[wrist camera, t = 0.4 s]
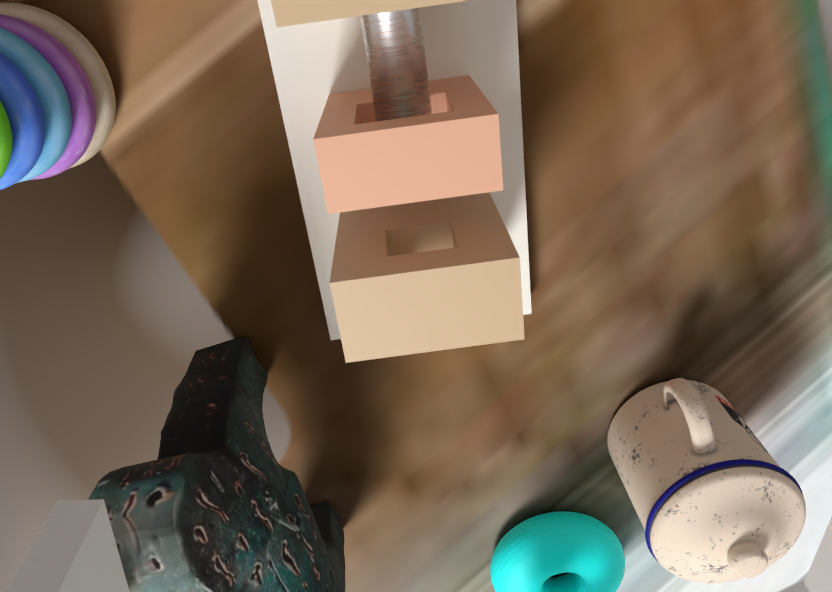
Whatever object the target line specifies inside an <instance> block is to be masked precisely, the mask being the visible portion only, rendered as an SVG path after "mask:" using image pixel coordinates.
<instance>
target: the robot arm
mask: <svg viewBox="0 0 832 592" xmlns="http://www.w3.org/2000/svg"><path fill="white" fill-rule="evenodd" d="M804 584H805V586H806V587H807V588H808V590H809V592H832V518H831V520H830V523H829V525H828V527H827V530H826V532H825V534H824V537H823V539H822V541H821V544H820V546H819V548H818V551H817V553H816V556H815V558H814V560H813V563H812V565H811V567H810V570H809V572H808V574H807V577H806V579H805V581H804ZM5 592H130V591H129V588H128V584H127V581H126V577H125V574H124V570H123V566H122V563H121V559H120V556H119V552H118V549H117V545H116V541H115V538H114V534H113V531H112V527H111V523H110V520H109V516H108V513H107V509H106V506H105V502H104V499H98V500H64V501H63V500H61V501H57V502H56V504H55V506H54V508H53V509H52V511H51V513H50V515H49V516H48V518H47V520H46V521H45V523H44V525H43V527H42V528H41V530H40V532H39V534H38V535H37V537H36V539H35V541H34V542H33V544H32V546H31V548H30V549H29V551H28V553H27V555H26V556H25V558H24V560H23V562H22V563H21V565H20V567H19V569H18V571H17V572H16V574H15V576H14V577H13V579H12V581H11V582H10V584H9V586H8V588H7V589H6V591H5Z"/></svg>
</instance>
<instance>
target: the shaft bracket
mask: <svg viewBox="0 0 832 592" xmlns="http://www.w3.org/2000/svg"><path fill="white" fill-rule="evenodd" d="M258 5H259V9H260V14H261V19H262V23H263V28H264V32H265V37H266V42H267V46H268V51H269V56H270V60H271V65H272V70H273V74H274V79H275V84H276V88H277V93H278V97H279V102H280V107H281V111H282V116H283V121H284V125H285V130H286V135H287V139H288V144H289V149H290V153H291V158H292V163H293V167H294V172H295V176H296V181H297V186H298V190H299V195H300V200H301V204H302V209H303V214H304V218H305V223H306V228H307V232H308V237H309V242H310V246H311V251H312V255H313V260H314V265H315V269H316V274H317V279H318V283H319V288H320V293H321V297H322V302H323V307H324V311H325V316H326V320H327V325H328V330H329V334H330V339H331V340H337V339H341V342H342V346H343V351H344V356H345V361H346V363H348V362H356V361H364V360H371V359H379V358H386V357H394V356H401V355H409V354H416V353H424V352H431V351H439V350H446V349H454V348H462V347H469V346H477V345H484V344H492V343H499V342H507V341H514V340H522V339H524V322H523V315H525V314H531V294H530V273H529V253H528V233H527V213H526V193H525V172H524V152H523V132H522V112H521V92H520V72H519V51H518V31H517V11H516V0H258ZM413 8H420V11H421V20H422V29H423V38H424V47H425V56H426V65H427V74H428V83H429V91H430V100H431V109H432V114H428V115H421V116H414V117H407V118H399V119H392V120H385V121H377V122H376V118H375V112H374V105H373V98H372V92H371V85H370V79H369V72H368V65H367V59H366V52H365V46H364V39H363V32H362V26H361V19H360V16H363V15H370V14H377V13H384V12H391V11H398V10H406V9H413Z"/></svg>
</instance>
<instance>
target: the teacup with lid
mask: <svg viewBox="0 0 832 592" xmlns="http://www.w3.org/2000/svg"><path fill="white" fill-rule="evenodd" d="M607 445H608V450H609V453H610V456H611V458H612V460H613V463H614V465H615V467H616V469H617V471H618V473H619V476H620V478H621V480H622V482H623V484H624V486H625V489H626V491H627V493H628V495H629V497H630V499H631V501H632V504H633V506H634V508H635V510H636V512H637V514H638V517H639V519H640V521H641V523H642V525H643V527H644V530H645V537H646V542H647V546H648V548H649V550H650V552H651V554H652V555H653V557H654V558H655V559H656V560H657V561H658V562H659V563H660V564H661V565H662V566H663V567H664V568H665V569H667V570H668V571H669V572H671V573H673V574H675V575H676V576H678V577H681V578H683V579H686V580H690V581H694V582H701V583H721V582H728V581H733V580H738V579H741V578H750V577H754V576H757V575H759V574H761V573H762V572H763V571H764V570H765V569H766V568H767V567H769V566H770V565H772V564H773V563H775V562H776V561H777V560H779V559H780V558H781V557H782V556H783V555H784V554H786V553H787V552H788V550H789V549H790V548H791V547H792V546H793V545H794V543H795V542H796V540H797V539H798V537H799V535H800V533H801V531H802V529H803V526H804V522H805V516H806V507H805V501H804V497H803V493H802V490H801V488H800V486H799V484H798V483H797V481H796V480H795V479H794V478H793V477H792V476H791V475H790V474H789V473H788V472H787V471H785V470H784V469H782V468H780V467H779V466H778V464H777V463H776V462H775V460H774V459H773V458H772V457H771V455H770V454H769V453H768V452H767V450H766V449H765V448H764V446H763V445H762V444H761V443H760V441H759V440H758V439H757V437H756V436H755V435H754V434H753V432H752V431H751V430H750V429H749V427H748V426H747V425H746V423H745V422H744V421H743V420H742V418H741V417H740V416H739V414H738V413H737V412H736V411H735V409H734V408H733V407H732V406H731V404H730V403H729V402H728V400H727V399H726V398H725V397H724V396H723V395H722V394H721V393H720V392H719V391H718V390H716V389H715V388H713V387H711V386H709V385H707V384H704V383H701V382H698V381H692V380H686V379H683V378H676V379H672V380H669V381H666V382H662V383H658V384H655V385H652V386H650V387H648V388H646V389H644V390H642V391H640V392H638V393H637V394H635V395H634V396H632V397H631V398H630V399H629V400H628V401H627V402H625V403H624V404H623V406H622V407H621V408H620V409H619V410H618V412H617V413H616V414H615V416H614V418H613V420H612V422H611V424H610V427H609V431H608V438H607Z"/></svg>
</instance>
